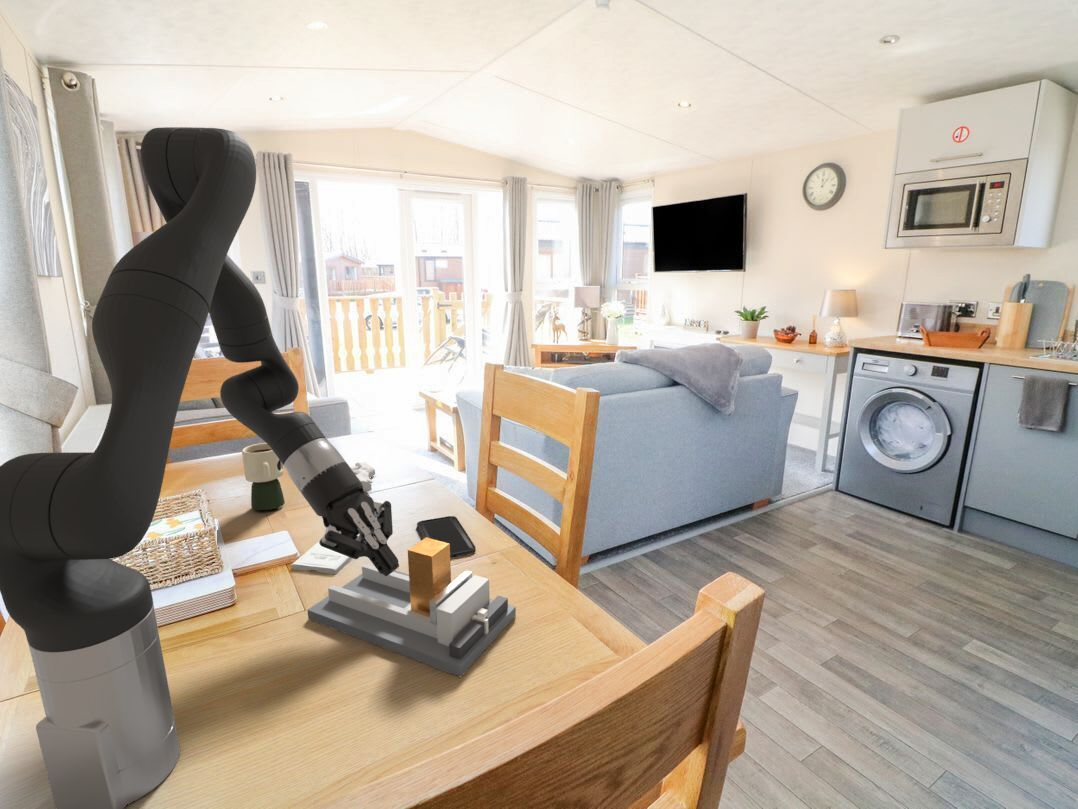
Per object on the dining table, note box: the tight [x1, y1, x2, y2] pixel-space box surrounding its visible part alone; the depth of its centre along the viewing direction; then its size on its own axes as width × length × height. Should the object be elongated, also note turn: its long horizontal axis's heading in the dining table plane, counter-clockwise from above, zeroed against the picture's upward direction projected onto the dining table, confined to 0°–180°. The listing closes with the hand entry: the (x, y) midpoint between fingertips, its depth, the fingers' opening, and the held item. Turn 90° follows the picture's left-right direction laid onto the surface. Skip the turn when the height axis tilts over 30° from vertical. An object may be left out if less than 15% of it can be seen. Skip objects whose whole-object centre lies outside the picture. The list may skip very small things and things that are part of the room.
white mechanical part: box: [349, 462, 376, 493], centre depth 131 cm, size 18×4×10 cm
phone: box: [416, 515, 477, 560], centre depth 105 cm, size 8×1×15 cm
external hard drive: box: [290, 534, 365, 575], centre depth 99 cm, size 2×8×12 cm
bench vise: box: [307, 563, 517, 677], centre depth 81 cm, size 26×14×6 cm, turn 63°
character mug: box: [241, 442, 286, 511], centre depth 116 cm, size 11×7×13 cm, turn 32°
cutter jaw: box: [404, 538, 473, 625], centre depth 78 cm, size 7×8×10 cm
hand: (392, 571), depth 81 cm, fingers closed
